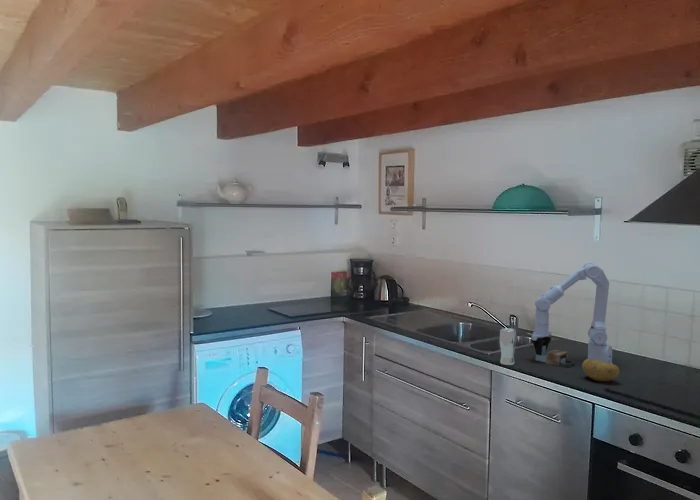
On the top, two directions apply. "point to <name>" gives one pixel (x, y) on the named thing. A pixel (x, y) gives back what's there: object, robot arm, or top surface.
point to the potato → (600, 370)
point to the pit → (567, 364)
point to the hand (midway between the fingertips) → (541, 353)
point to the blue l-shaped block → (543, 356)
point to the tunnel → (555, 357)
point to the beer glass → (507, 345)
